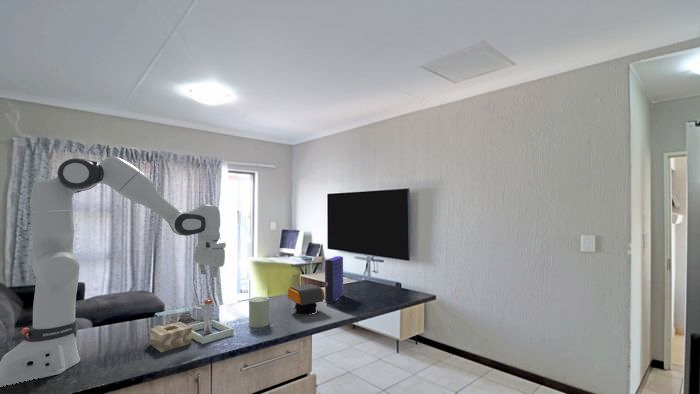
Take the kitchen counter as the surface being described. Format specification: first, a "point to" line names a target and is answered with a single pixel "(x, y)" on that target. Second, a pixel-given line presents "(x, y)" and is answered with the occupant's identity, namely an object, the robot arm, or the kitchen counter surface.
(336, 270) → the cereal box
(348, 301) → the kitchen counter surface
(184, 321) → the pulley system
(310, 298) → the sander
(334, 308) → the kitchen counter surface
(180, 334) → the block
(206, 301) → the lock pin
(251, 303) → the can
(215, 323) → the tray
